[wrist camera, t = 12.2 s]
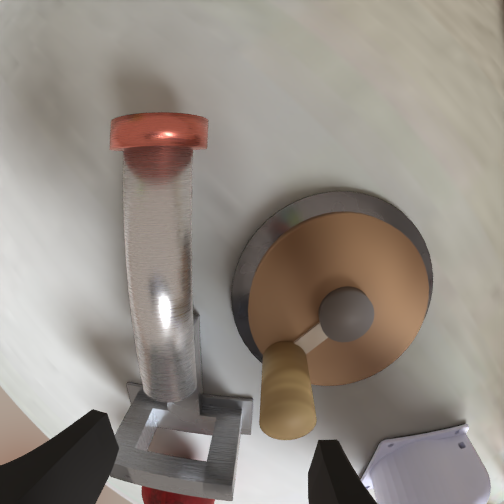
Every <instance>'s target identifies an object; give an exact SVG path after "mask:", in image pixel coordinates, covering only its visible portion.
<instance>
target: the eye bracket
mask: <svg viewBox="0 0 504 504" xmlns="http://www.w3.org/2000/svg"><path fill="white" fill-rule="evenodd" d="M193 325H194V345H195V363H196V378H197V388H196V390H195V392H194V393H193V394H192V395H191V396H190V397H188V398H187V399H185V400H182V401H178V402H171V403H167V402H160V401H156V400H154V399H152V398H150V397H149V396H148V395H147V394H146V393H145V392H144V390H143V385H141V384H136V383H131V382H128V383H127V389H128V393H129V397H130V401H131V406H130V408H129V410H128V412H127V414H126V415H125V417H124V419H123V421H122V423H121V425H120V426H119V428H118V430H117V432H116V434H115V438H116V441H117V443H118V446H119V451H118V454H117V457H116V460H115V463H114V466H113V469H112V471H111V473H110V476H111V477H113V478H116V479H120V480H123V481H127V482H130V483H134V484H138V485H141V486H145V487H149V488H154V489H158V490H163V491H167V492H172V493H177V494H183V495H189V496H195V497H201V498H208V499H216V500H225V501H232V500H233V492H234V484H235V476H236V468H237V460H238V452H239V443H240V435H241V434H247V435H251V424H252V408H253V399H252V398H238V397H226V396H216V395H207V394H203V385H202V367H201V346H200V319H199V315H195V314H193ZM157 427H161V428H166V429H172V430H178V431H184V432H191V433H198V434H205V435H212V440H211V445H210V449H209V454H208V459H207V462H206V461H199V460H192V459H186V458H180V457H174V456H169V455H164V454H159V453H154V452H149V451H147V450H148V447H149V445H150V443H151V440H152V438H153V435H154V433H155V430H156V428H157Z"/></svg>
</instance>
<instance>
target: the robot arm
mask: <svg viewBox="0 0 504 504" xmlns="http://www.w3.org/2000/svg"><path fill="white" fill-rule="evenodd" d="M468 429H469V426H468V425H467V424H465V425H461V426H457V427H453V428H448V429H444V430H439V431H435V432H430V433H424V434H419V435H413V436H407V437H401V438H394V439H387V440H383V441H382V442H380V444H379V445H378V447H377V450H376V452H375V454H374V456H373V458H372V459H371V461H370V463H369V465H368V467H367V469H366V471H365V473H364V475H363V476H362V478H361V480H360V478H359V477H358V475H357V474H356V472H355V470H354V469H353V467H352V465H351V463H350V462H349V460H348V458H347V456H346V454H345V453H344V451H343V449H342V447H341V445H340V443H339V441H338V440H318V444H317V447H316V450H315V453H314V457H313V460H312V463H311V466H310V469H309V472H308V499H309V504H486V503H487V501H488V499H489V496H490V489H491V486H490V478H489V474H488V472H487V470H486V468H485V466H484V465H483V463H482V461H481V459H480V457H479V456H478V454H477V452H476V450H475V449H474V447H473V445H472V443H471V442H470V440H469V438H468V436H467V435H466V432H467V431H468ZM118 451H119V446H118V443H117V441H116V438H115V435H114V432H113V430H112V427H111V424H110V421H109V418H108V415H107V413H104V412H100V411H97V410H94V409H93V410H91V411H90V412H88V413H87V414H85V415H84V416H83V417H81V418H80V419H79V420H77V421H76V422H74V423H73V424H72V425H70V426H69V427H68V428H66V429H65V430H63V431H62V432H61V433H59V434H58V435H56V436H55V437H53V438H52V439H50V440H49V441H47V442H46V443H44V444H43V445H41V446H39V447H37V448H36V449H34V450H33V451H31V452H29V453H27V454H25V455H24V456H22V457H19V458H17V459H15V460H13V461H11V462H8V463H6V464H4V465H0V504H95V503H96V501H97V499H98V497H99V495H100V493H101V491H102V489H103V487H104V485H105V483H106V481H107V479H108V477H109V475H110V473H111V471H112V469H113V466H114V463H115V460H116V457H117V454H118ZM367 489H374V492H375V496H376V500H377V503H376V501H375V500H374V499H373V497H372V496H371V495H370V493H369V492H368V490H367Z"/></svg>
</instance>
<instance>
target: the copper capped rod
mask: <svg viewBox="0 0 504 504" xmlns="http://www.w3.org/2000/svg"><path fill="white" fill-rule="evenodd" d="M207 138H208V119H206V118H204V117H201V116H197V115H191V114H183V113H140V114H131V115H125V116H121V117H117V118H115V119H113V120H112V121H111V131H110V150H114V151H124V152H123V216H124V240H125V256H126V269H127V281H128V291H129V300H130V309H131V317H132V325H133V332H134V339H135V345H136V352H137V358H138V363H139V369H140V375H141V380H142V385H143V390H144V392H145V393H146V394H147V395H148V396H149V397H150V398H152V399H154V400H156V401H160V402H167V403H171V402H178V401H182V400H185V399H187V398H188V397H190V396H191V395H192V394H193V393H194V392H195V390H196V388H197V378H196V363H195V345H194V325H193V298H192V244H191V218H192V164H193V150H200V149H206V148H207Z"/></svg>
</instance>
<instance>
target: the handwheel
mask: <svg viewBox="0 0 504 504" xmlns="http://www.w3.org/2000/svg"><path fill="white" fill-rule="evenodd" d="M428 299H429V284H428V276H427V272H426V268H425V265H424V262H423V260H422V257H421V255H420V254H419V252H418V250H417V249H416V247H415V246H414V245H413V243H412V242H411V241H410V240H409V239H408V238H407V237H406V236H405V235H404V234H403V233H402V232H401V231H399V230H398V229H396V228H395V227H393V226H392V225H390V224H388V223H386V222H384V221H382V220H380V219H377V218H375V217H373V216H370V215H366V214H363V213H357V212H349V211H345V212H331V213H325V214H321V215H318V216H314V217H311V218H309V219H307V220H304V221H302V222H300V223H298V224H297V225H295V226H293V227H292V228H290V229H289V230H287V231H286V232H285V233H284V234H282V235H281V236H280V237H279V238H278V239H277V240H276V241H275V242H274V243H273V244H272V245H271V246H270V248H269V249H268V250H267V252H266V253H265V254H264V256H263V257H262V259H261V261H260V263H259V265H258V267H257V269H256V272H255V274H254V277H253V280H252V285H251V289H250V295H249V304H248V318H249V325H250V329H251V333H252V336H253V338H254V341H255V343H256V345H257V347H258V349H259V350H260V352H261V353H262V354H263V364H262V384H261V403H260V421H259V423H260V428H261V430H262V431H263V432H264V433H265V434H266V435H268V436H270V437H272V438H275V439H279V440H292V439H297V438H300V437H303V436H305V435H307V434H308V433H309V432H311V431H312V430H313V428H314V427H315V425H316V413H315V406H314V400H313V394H312V387H311V384H313V385H321V386H335V385H344V384H349V383H354V382H357V381H360V380H363V379H366V378H368V377H370V376H373V375H375V374H376V373H378V372H380V371H382V370H383V369H385V368H386V367H388V366H389V365H390V364H392V363H393V362H394V361H395V360H396V359H397V358H399V357H400V356H401V355H402V354H403V352H404V351H405V350H406V349H407V348H408V347H409V345H410V344H411V343H412V341H413V340H414V338H415V337H416V335H417V333H418V331H419V330H420V327H421V325H422V323H423V320H424V317H425V314H426V310H427V305H428Z"/></svg>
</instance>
